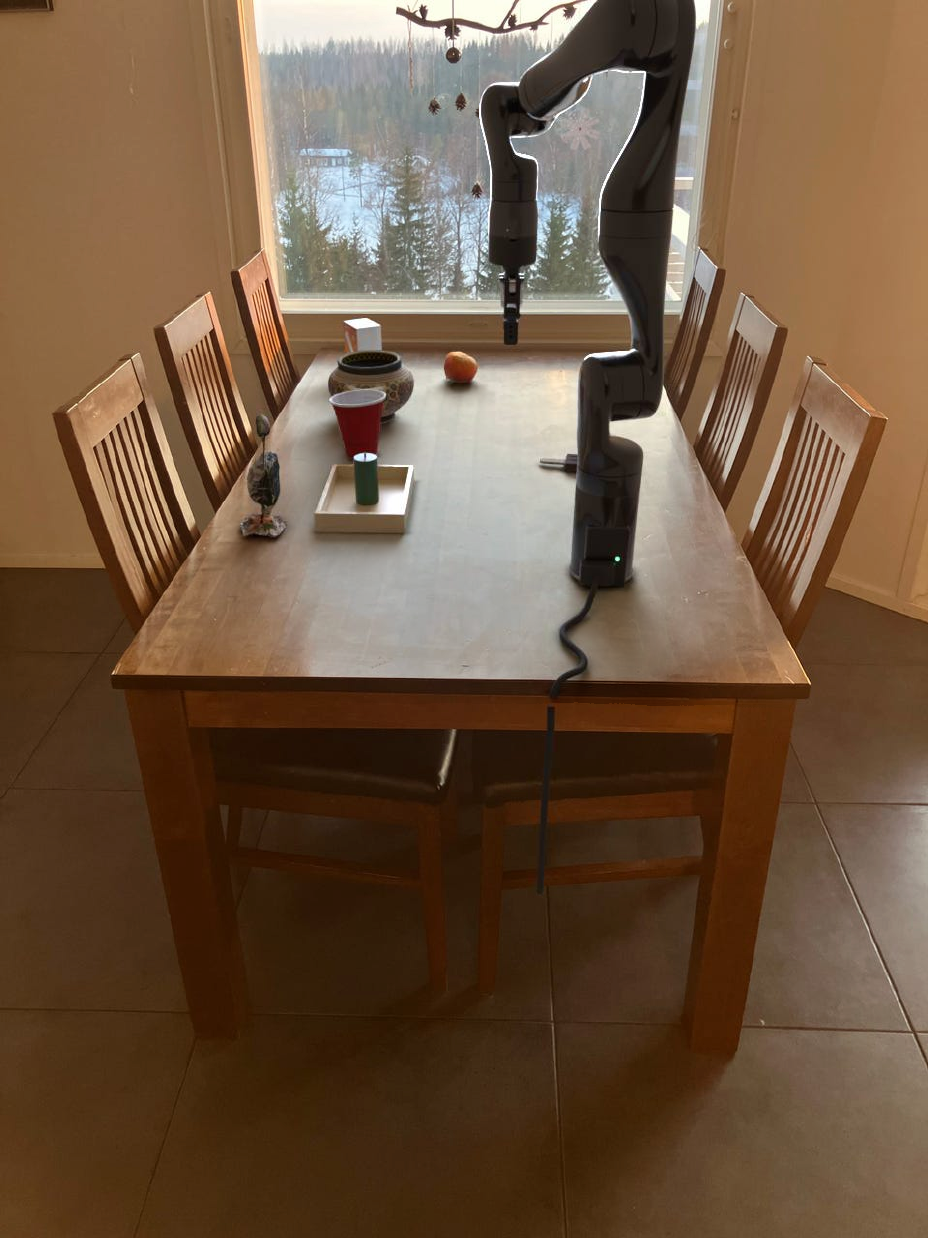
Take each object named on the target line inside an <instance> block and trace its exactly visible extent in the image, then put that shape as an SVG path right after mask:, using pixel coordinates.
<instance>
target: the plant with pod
mask: <svg viewBox="0 0 928 1238" xmlns="http://www.w3.org/2000/svg"><path fill="white" fill-rule="evenodd" d="M255 427H256V435H257V436H258V437H259V438H260V439H261V442H262V452H261V453H259V455H258V456H256V458H255V460H254V462H252V465H251V466H250V468H249V469H248V472H247V476H246V477H245V478H246V487H247V491H248V494H249V495H248V496H249V497H250V500H252V501H253V502H254V503H257V504H259V505H260V506H261V507H260V513H258V512H255V513H251V514H250V515H249V516H248V517H247V518H246V517H245V518H244V520H242V522H240V524H239V526H240V527H241V528H240V530H242V536H243V537H247V536H251V535H254V534H255V535H256V536H257V535H259V536H261V535H262V537H265V536H266V537H268V536H269V537H270V538H276V537H278V536H280V535H281V534H282V532H283V531H284V529H285V528H287V526H288V523H287V521H285V520H284V518H283V517H282V516H281V515H275V516H273V513H272V511H273V509H274V507H276V504H277V502H278V500H279V498H280V495H281V479H280V468H281V466H280V462H279V458H278V455H277V453H276V452H274V451H272V450H270V451H269V450H268V451H265V450H266V444H265V443H266V437H267V436H269V434H270V433H271V425H270V421H269V420H268V418H267V417H266V415H264V414H262V413H259V414H258V415H257V416H256V419H255ZM276 451H279V449H278V448H277V449H276Z"/></svg>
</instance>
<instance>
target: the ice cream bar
mask: <svg viewBox="0 0 928 1238" xmlns="http://www.w3.org/2000/svg"><path fill="white" fill-rule="evenodd" d="M577 458H578V453H566V456H565V459H561V458H547V457H542V458H540V459H539V464H542V465H544V464H545V465H556V466H557V465H558V466H563V471H564V472H567V473H577Z"/></svg>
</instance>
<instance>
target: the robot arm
mask: <svg viewBox="0 0 928 1238" xmlns="http://www.w3.org/2000/svg"><path fill="white" fill-rule="evenodd" d="M696 13H697V11H696V4H695V0H594V1H593V3H592V4H591V5H590V6H589V8H587V10H586V11H585V12H584V14H583V15H582V17H581V18H580V19H579V20H577V22H576V24H575V25H574V26H573V27H572V29H571V30H570V31H569V32H568V34H567V35H566V37H564V39H562V41H561V42H560V43H559V45H558V46H556V47H555V48H554V49H552V51H551V52H549V53H548V54H546V55H544V56H543V57H542V58H541V59H539V60H538V61H537V62H535V63H534V64H533V65H532V66H530V67H529V68H527V70H526V71H525V72H524V73H523V74H522V76H521V77H520V79H519V82H494V83H492V84H490V85H489V86H487V87H486V89H485V90H484V92H483V94H482V96H481V98H480V103H479V119H480V126H481V129H482V133H483V137H484V140H485V142H484V143H485V146H486V151H487V156H488V161H489V166H490V167H489V168H490V203H489V209H488V210H489V211H488V236H487V238H488V239H487V261H488V262H489V263H490V264H491V265H493V266H497V267H502V269H503V273H499V274H498V288H499V291H500V293H499V296H500V307H501V308H502V309H503V313H502V319H503V320H502V328H503V329H502V330H503V344H504V345H505V346H516V345H517V344H518V342H519V321H520V319H521V316H522V315H521V314H522V313H521V308H522V307H523V303H524V302H523V301H524V289H525V274H524V273H520V272H521V271H520V270H521V268H522V267H530V266H533V265H534V264H535V263H536V262H537V255H538V254H537V253H538V251H537V250H538V227H539V225H538V224H539V211H538V210H539V209H538V182H539V181H538V179H539V166H538V165H539V164H538V162H537V159H536V158H534V157H533V156H530V155H526V154H521V153H517V152H516V151H515V149H514V146H513V144H512V141H511V138H528V137H529V138H530V137H537V136H540V135H542V134H544V133H546V132H548V131H549V130H550V128H551V127H552V125H553V123H554V122H555V121H556V120H557V118H558V116H559V115H560V114H562V113H564V112H565V111H567V110H569V109H570V108H572V107H573V106H575V105H576V104H577V103H579V102H580V101H581V100H582V98H583V97H584V96H585V95H586V94H587V92H588V90H589V88H590V86H591V82H592V79H593V76H596V75H597V74H601V73H604V72H609V71H617V72H621V73H644V75H643V86H642V87H643V88H642V93H641V94H642V95H641V101H640V107H639V111H638V115H637V117H636V121H635V124H634V125H633V129H632V131H631V133H630V135H629V136H628V139H627V140H626V142H625V144H624V146H623V148H622V149H621V151H620V153H619V155H618V156H617V158H616V160H615V161H614V163H613V165H612V167H611V169H610V171H609V173H608V174H607V176H606V179H605V181H604V183H603V186H602V188H601V191H600V196H599V197H600V198H599V209H598V228H597V247H598V248H597V249H598V253H599V256H600V259H601V261H602V264H603V266H604V268H605V270H606V272H607V274H608V276H609V278H610V279H611V281H612V283H613V285H614V287H615V288H616V290H617V292H618V293H619V295H620V298H621V300H622V302H623V304H624V306H625V309H626V312H627V316H628V320H629V325H630V336H631V337H630V349H629V350H624V351H622V350H621V351H608V352H596V353H591V354H588V355H586V356H585V357H584V358H583V359H582V362H581V364H580V367H579V370H578V377H577V396H576V397H577V398H576V399H577V401H576V402H577V404H576V405H577V406H576V407H577V411H576V412H577V413H576V414H577V416H576V419H577V420H576V447H577V449H576V450H577V454H578V458H577V472H576V478H575V492H574V494H575V495H574V507H573V520H572V521H573V523H572V537H571V551H570V552H571V553H570V557H571V558H570V564H569V573H570V576H571V577H572V578H573V579H574V580H576V581H578V582H579V585H582V587H590V589H589V593H588V595H587V598H586V601H585V603H584V605H583V607H582V608H581V610H580V612H578V613H577V614H576V615H575V616H573V617H572V618H570V619H568V620H567V621H565V622H564V623H563V624H562V625H561V626H560V628H559V631H558V637H559V639H560V641H561V642H562V644H563V645H564V647H566V648H567V649H568V650H570V651H571V653H573V654H574V655H575V656H577V658H578V659H579V665H578V666H577V667H574V668H572V669H569V670H567V671H565V672H564V673H562V674H561V675H560V676H558V677H557V678H556V680H555V681H554V682H553V684H552V686H551V689H550V691H549V695H548V696H549V698H551V699H555V698H557V696H558V693H559V691H560V689H561V687H562V686H563V684H564V683H565V682H567V680H570V679H571V678H573V677H576V676H578V675H581V674H582V673H584V672H585V671H586V669H587V668H588V665H589V664H588V662H589V661H588V657H587V655H586V653H584V651H583V650H582V649H581V648H579V647H578V646H577V645H576V644H575V643H573V641H571V640H570V638H569V637H568V635H567V631H568V630H569V629H570V628H571V627H572V626H574V625H576V624H577V623H578V622H580V621H582V620H583V619H584V618H585V617H586V616H587V614H588V613H589V612H590V611H591V608H592V605H593V603H594V600H595V598H596V595H597V592H598V588H599V587H606V588H607V587H608V588H609V587H610V588H613V587H614V588H623V587H625V586H626V583H627V582H629V581H630V580H631V579H632V577H633V572H634V571H633V570H634V569H633V564H634V555H635V543H636V534H637V533H636V532H637V523H638V512H639V505H640V503H639V502H640V493H641V486H642V485H641V484H642V476H643V475H642V473H643V465H644V464H643V463H644V450H643V448H642V446H641V445H640V444H638V443H637V442H635V441H633V440H632V439H629V438H627V437H624V436H621V435H616V434H613V433H611V431H610V423H613V422H622V421H623V422H624V421H635V420H642V419H649V418H651V417H653V416H654V415H655V414H656V413H657V411H658V410H659V408H660V405H661V401H662V396H663V390H664V382H665V381H664V379H665V377H664V376H665V306H666V305H665V303H666V289H667V279H668V266H669V256H670V248H671V239H672V229H673V219H674V205H675V185H676V175H677V174H676V172H677V164H678V163H677V162H678V152H679V146H680V145H679V143H680V134H681V127H682V119H683V113H684V107H685V101H686V96H687V90H688V84H689V80H690V79H689V78H690V73H691V67H692V59H693V53H694V49H695V41H696V29H697V14H696ZM555 711H556V707H555V706H547V707H546V734H545V744H544V745H545V746H544V758H543V770H542V784H541V799H540V817H539V819H540V820H539V836H538V837H539V838H538V855H537V856H538V858H537V874H536V875H537V876H536V894H538V895H542V894H543V893H544V884H545V869H546V852H547V849H546V848H547V833H548V815H549V799H550V787H551V786H550V785H551V772H552V762H553V761H552V760H553V748H554V738H555V723H556V722H555V720H556V717H555V713H556V712H555Z"/></svg>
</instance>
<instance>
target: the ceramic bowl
mask: <svg viewBox="0 0 928 1238" xmlns="http://www.w3.org/2000/svg"><path fill="white" fill-rule="evenodd" d="M414 388H415V380H414V376H413V374H412V371H411V370H410V369H409V368H408V367H407V366H406V365H405V364H403V359H402V356H401V354H398V353H397V352H394V351H389V350H383V349H382V350H366V351H356V352H351V353H347V354H345V353H343V354H341V355H340V356H338V358H337V367H335V368H334V369H333V370H332V371H331V372H330V374H329V377H328V381H327V390H328V392H329V396H330V397H332V396H334V395H336V394H339V393H342V392H347V391H352V390H364V389H366V390H378V391H383V392H384V393H386V397H385V399H384V403H383V408H382V415H381V424H380V425H382V424H383V425H384V424H387V423H389V422H391V421H393V420H395V418H396V412H398V411H399V410H400V409H402V408H403V407H404V406H406V404H407V403H408V401H409V400H410V398H411V396H412V394H413V392H414Z"/></svg>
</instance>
